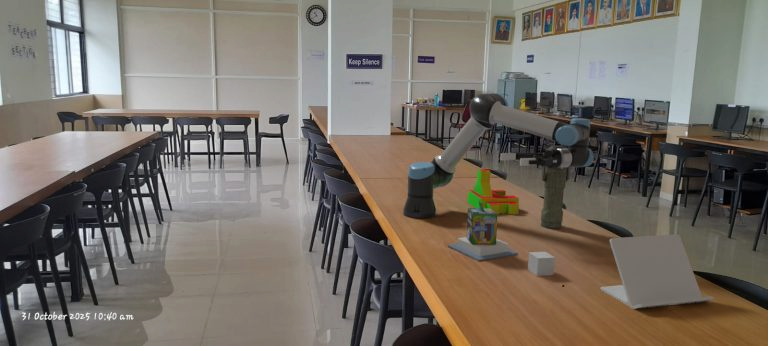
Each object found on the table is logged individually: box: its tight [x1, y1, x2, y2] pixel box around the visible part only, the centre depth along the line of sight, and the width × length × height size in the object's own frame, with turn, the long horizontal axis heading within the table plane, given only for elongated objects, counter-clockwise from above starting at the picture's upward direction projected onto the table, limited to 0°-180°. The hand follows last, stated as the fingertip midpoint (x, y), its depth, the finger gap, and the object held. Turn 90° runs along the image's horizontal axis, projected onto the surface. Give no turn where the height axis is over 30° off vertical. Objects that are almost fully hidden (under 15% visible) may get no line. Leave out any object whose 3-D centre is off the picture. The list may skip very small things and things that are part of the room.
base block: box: [456, 236, 509, 256], centre depth 200 cm, size 13×13×3 cm
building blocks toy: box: [467, 168, 520, 216], centre depth 266 cm, size 19×25×18 cm
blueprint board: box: [447, 243, 519, 262], centre depth 200 cm, size 18×18×1 cm
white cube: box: [527, 251, 556, 277], centre depth 179 cm, size 6×6×6 cm
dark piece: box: [540, 144, 571, 230], centre depth 234 cm, size 9×12×35 cm
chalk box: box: [466, 201, 498, 244], centre depth 198 cm, size 9×9×15 cm
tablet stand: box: [600, 233, 714, 310], centre depth 160 cm, size 18×25×17 cm
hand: (510, 159), depth 209 cm, fingers open, 13 cm apart
